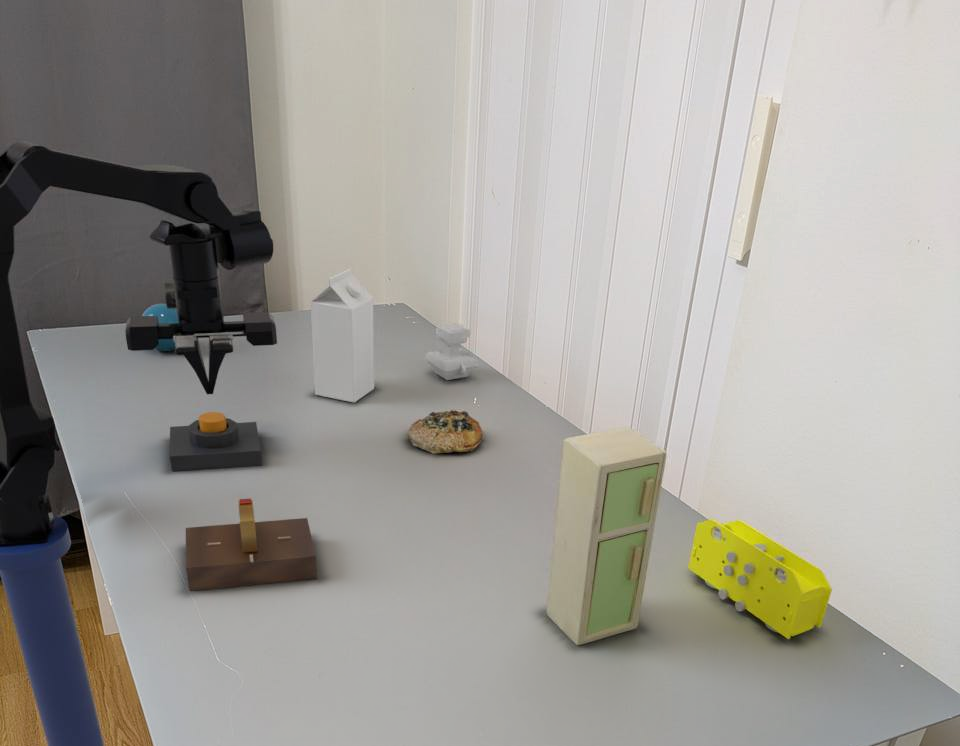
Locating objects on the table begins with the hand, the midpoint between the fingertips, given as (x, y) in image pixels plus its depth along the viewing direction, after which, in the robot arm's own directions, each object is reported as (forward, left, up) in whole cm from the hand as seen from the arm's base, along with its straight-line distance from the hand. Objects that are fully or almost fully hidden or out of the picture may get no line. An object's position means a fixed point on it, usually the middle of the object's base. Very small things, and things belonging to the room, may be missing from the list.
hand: (209, 393), depth 128 cm
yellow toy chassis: (+57, -50, -9) cm, 76 cm away
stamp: (+40, +25, -9) cm, 48 cm away
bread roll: (+33, -1, -9) cm, 34 cm away
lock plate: (+3, -31, -9) cm, 32 cm away
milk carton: (+21, +20, -9) cm, 30 cm away
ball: (-7, +44, -9) cm, 45 cm away
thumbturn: (+3, -31, -6) cm, 32 cm away
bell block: (0, 0, -9) cm, 9 cm away
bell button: (0, 0, -5) cm, 5 cm away
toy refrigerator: (+38, -50, -9) cm, 63 cm away
